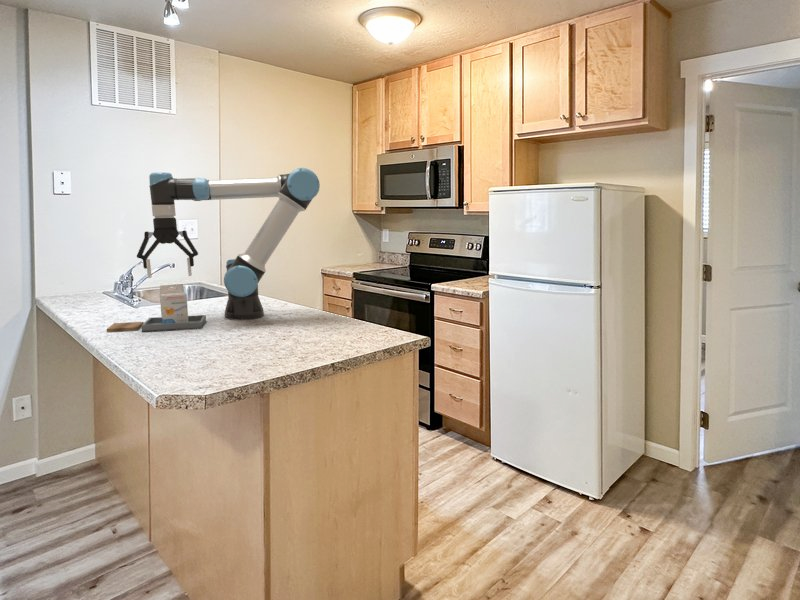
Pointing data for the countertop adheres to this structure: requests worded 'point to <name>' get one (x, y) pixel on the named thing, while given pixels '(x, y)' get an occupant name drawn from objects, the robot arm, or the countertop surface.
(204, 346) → the countertop surface
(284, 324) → the countertop surface
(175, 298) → the ink box
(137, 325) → the board
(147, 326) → the tray
